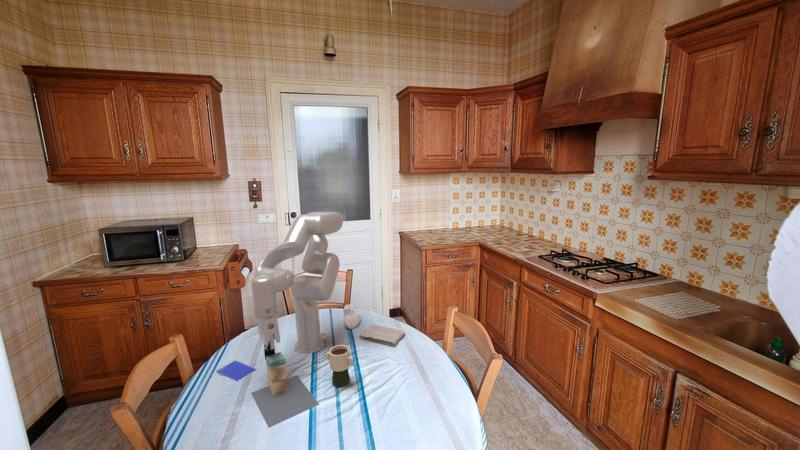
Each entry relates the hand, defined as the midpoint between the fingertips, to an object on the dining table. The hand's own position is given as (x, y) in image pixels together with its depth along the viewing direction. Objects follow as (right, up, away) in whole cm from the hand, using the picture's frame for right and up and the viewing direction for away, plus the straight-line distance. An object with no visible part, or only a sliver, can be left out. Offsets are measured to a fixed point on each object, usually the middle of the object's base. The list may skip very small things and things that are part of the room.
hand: (270, 358), depth 122 cm
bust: (+23, -1, +44) cm, 50 cm away
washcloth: (+38, -3, +32) cm, 50 cm away
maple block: (+4, -9, -3) cm, 11 cm away
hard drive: (-16, -9, +8) cm, 20 cm away
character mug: (+25, -9, 0) cm, 27 cm away
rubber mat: (+8, -11, -8) cm, 15 cm away
